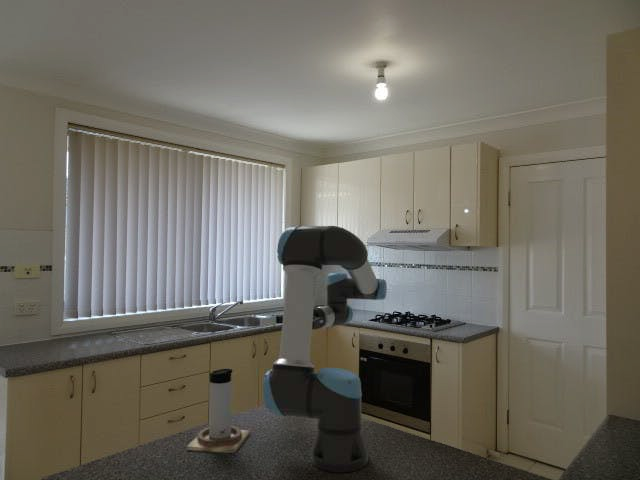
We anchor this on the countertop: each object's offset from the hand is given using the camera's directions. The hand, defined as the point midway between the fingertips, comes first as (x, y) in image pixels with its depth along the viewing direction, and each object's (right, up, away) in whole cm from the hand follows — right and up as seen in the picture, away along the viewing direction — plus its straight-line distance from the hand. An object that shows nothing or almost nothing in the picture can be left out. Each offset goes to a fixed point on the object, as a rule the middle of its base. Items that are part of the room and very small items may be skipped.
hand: (273, 324), depth 153 cm
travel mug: (-14, -31, -15) cm, 37 cm away
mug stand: (-14, -32, -15) cm, 38 cm away
